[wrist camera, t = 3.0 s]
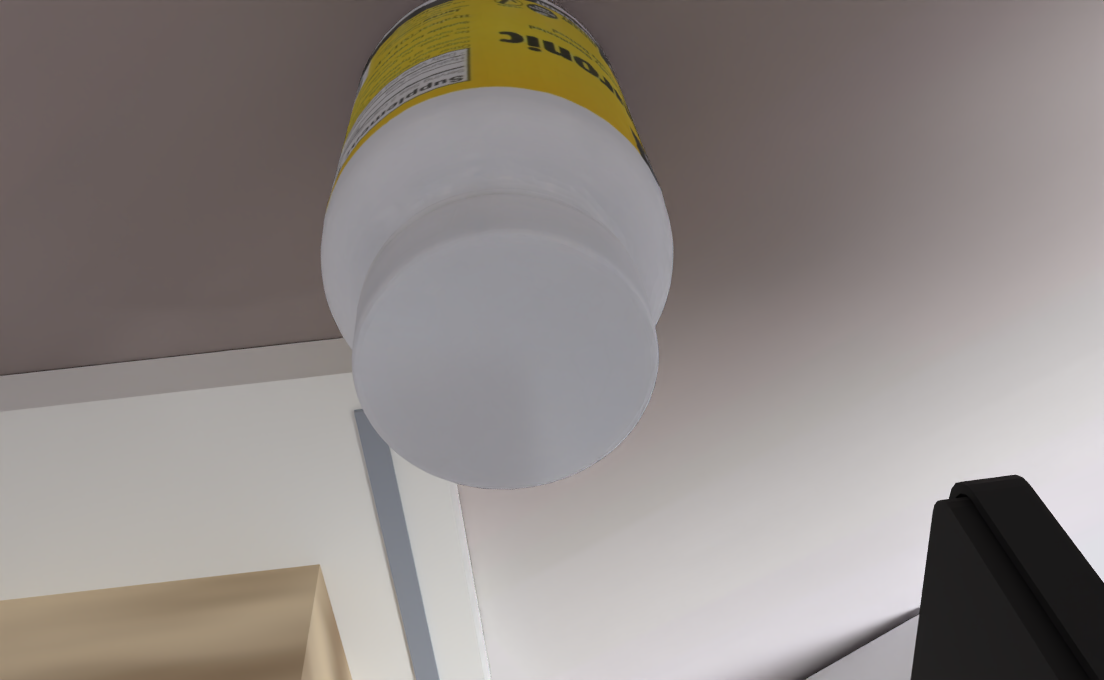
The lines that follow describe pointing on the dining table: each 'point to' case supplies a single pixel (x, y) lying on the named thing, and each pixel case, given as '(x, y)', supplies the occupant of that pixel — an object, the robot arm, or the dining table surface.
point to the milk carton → (877, 658)
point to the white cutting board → (237, 496)
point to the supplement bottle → (496, 246)
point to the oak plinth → (179, 631)
